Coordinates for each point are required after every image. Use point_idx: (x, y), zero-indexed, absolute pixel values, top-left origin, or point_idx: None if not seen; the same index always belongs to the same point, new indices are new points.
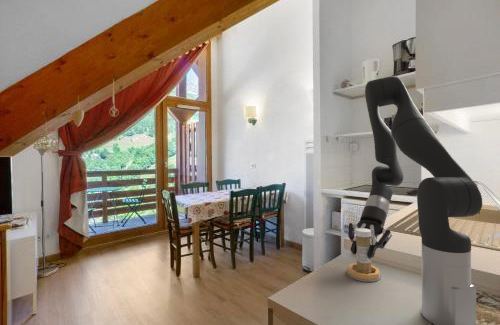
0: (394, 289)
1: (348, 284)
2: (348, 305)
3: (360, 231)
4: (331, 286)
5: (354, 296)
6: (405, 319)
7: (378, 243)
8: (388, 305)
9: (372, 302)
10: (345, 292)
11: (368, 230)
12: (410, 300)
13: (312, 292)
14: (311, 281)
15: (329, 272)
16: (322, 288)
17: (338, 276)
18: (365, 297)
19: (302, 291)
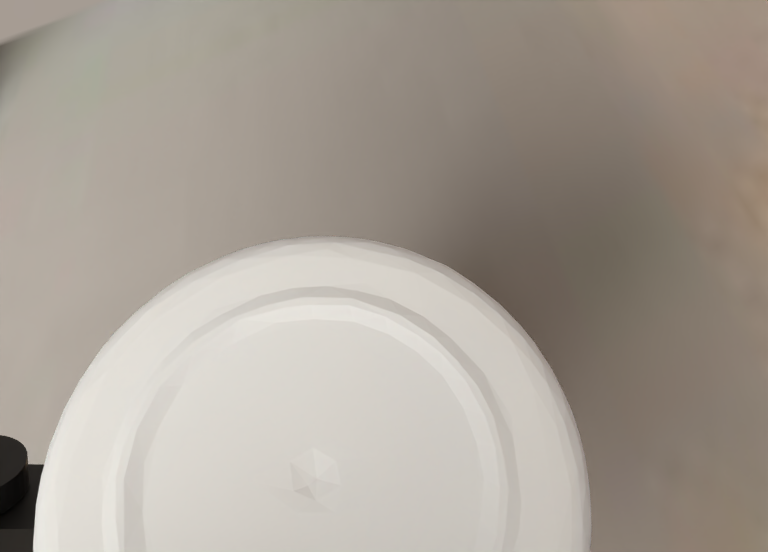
0: (99, 338)
1: (448, 244)
2: (382, 2)
3: (371, 248)
4: (551, 155)
5: (370, 103)
6: (86, 15)
7: (13, 456)
8: (162, 100)
9: (256, 88)
10: (436, 123)
11: (106, 445)
12: (12, 222)
13: (624, 31)
14: (713, 157)
15: (676, 393)
16: (593, 102)
17: (569, 349)
18: (302, 123)
19: (683, 14)
